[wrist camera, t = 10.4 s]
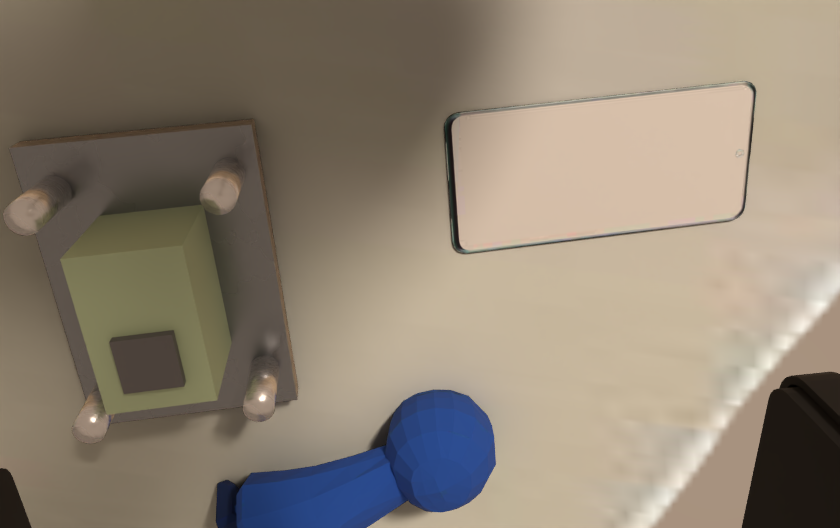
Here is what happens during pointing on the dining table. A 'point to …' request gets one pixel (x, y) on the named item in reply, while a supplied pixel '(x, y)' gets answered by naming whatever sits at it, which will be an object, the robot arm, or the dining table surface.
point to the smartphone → (598, 166)
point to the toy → (376, 473)
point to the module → (150, 308)
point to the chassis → (160, 189)
